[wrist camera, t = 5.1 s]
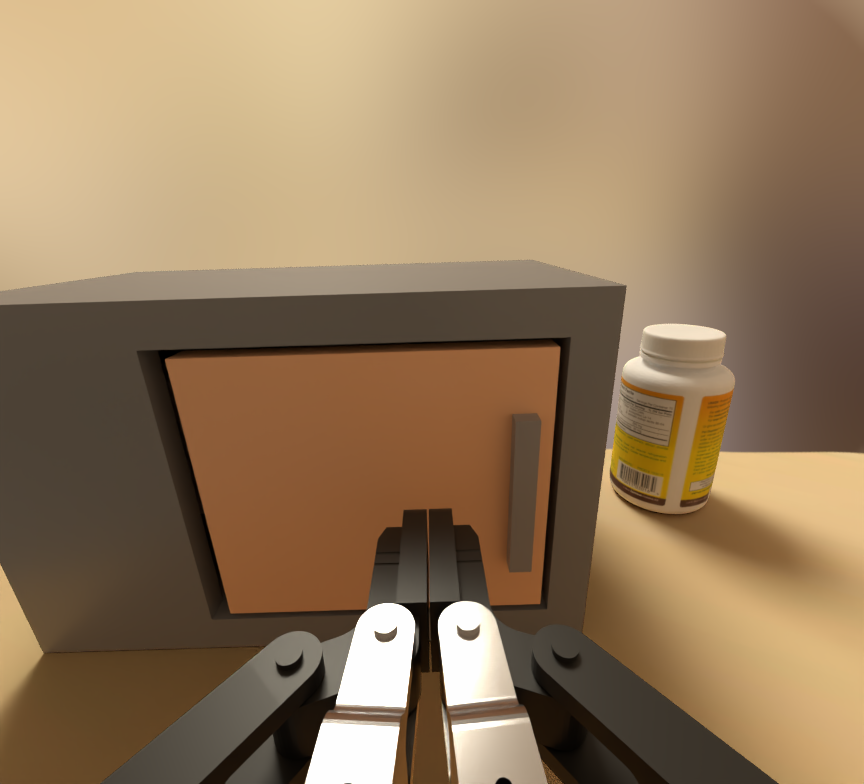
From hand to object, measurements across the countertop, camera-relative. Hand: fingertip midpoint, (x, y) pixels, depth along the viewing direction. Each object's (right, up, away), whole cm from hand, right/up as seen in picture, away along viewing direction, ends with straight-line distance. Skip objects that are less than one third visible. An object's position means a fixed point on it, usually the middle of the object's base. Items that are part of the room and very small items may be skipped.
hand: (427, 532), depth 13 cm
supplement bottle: (+14, -2, +14) cm, 20 cm away
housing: (-5, -4, +10) cm, 12 cm away
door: (-2, -4, +4) cm, 6 cm away
